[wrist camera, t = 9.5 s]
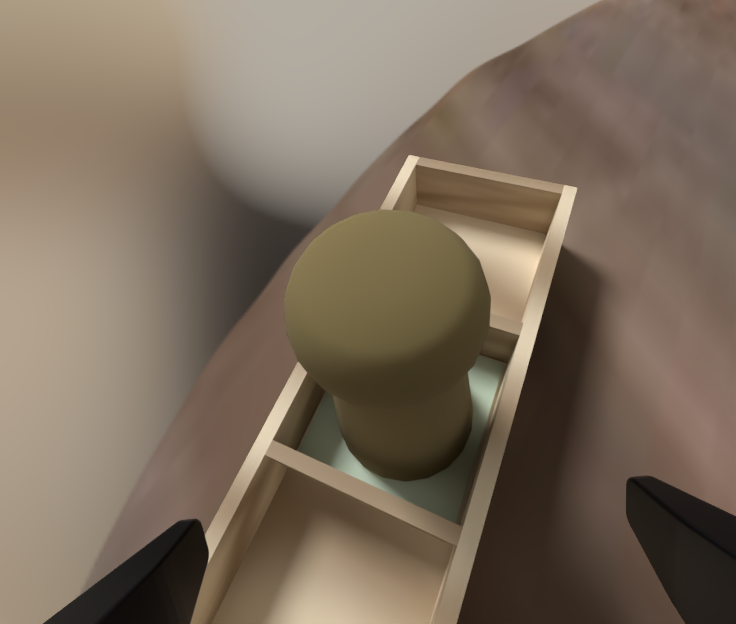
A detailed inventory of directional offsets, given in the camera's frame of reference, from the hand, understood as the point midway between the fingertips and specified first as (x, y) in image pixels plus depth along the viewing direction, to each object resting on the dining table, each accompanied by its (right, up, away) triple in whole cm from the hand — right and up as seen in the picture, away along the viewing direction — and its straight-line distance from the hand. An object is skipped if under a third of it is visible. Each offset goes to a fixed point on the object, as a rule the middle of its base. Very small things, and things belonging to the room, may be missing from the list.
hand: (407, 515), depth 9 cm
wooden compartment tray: (+1, -1, +11) cm, 11 cm away
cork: (+1, 0, +10) cm, 10 cm away
